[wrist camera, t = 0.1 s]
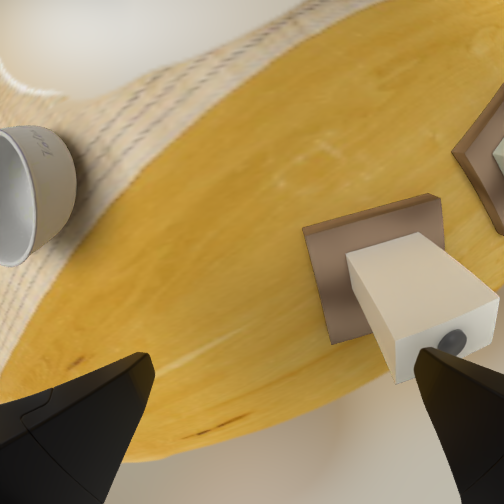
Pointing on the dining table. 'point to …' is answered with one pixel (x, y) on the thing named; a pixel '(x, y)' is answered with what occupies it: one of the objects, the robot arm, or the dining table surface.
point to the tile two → (500, 155)
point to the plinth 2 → (485, 158)
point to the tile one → (420, 301)
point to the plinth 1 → (358, 237)
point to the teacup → (33, 190)
